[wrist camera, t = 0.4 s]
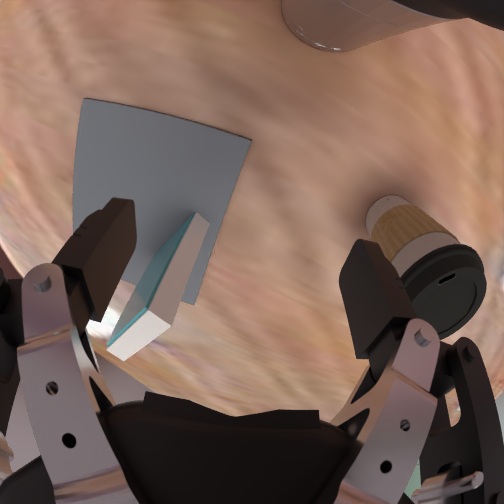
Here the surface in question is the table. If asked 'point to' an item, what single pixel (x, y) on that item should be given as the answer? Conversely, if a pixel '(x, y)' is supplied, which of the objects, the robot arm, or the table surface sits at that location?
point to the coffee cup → (428, 264)
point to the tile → (158, 290)
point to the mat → (155, 176)
